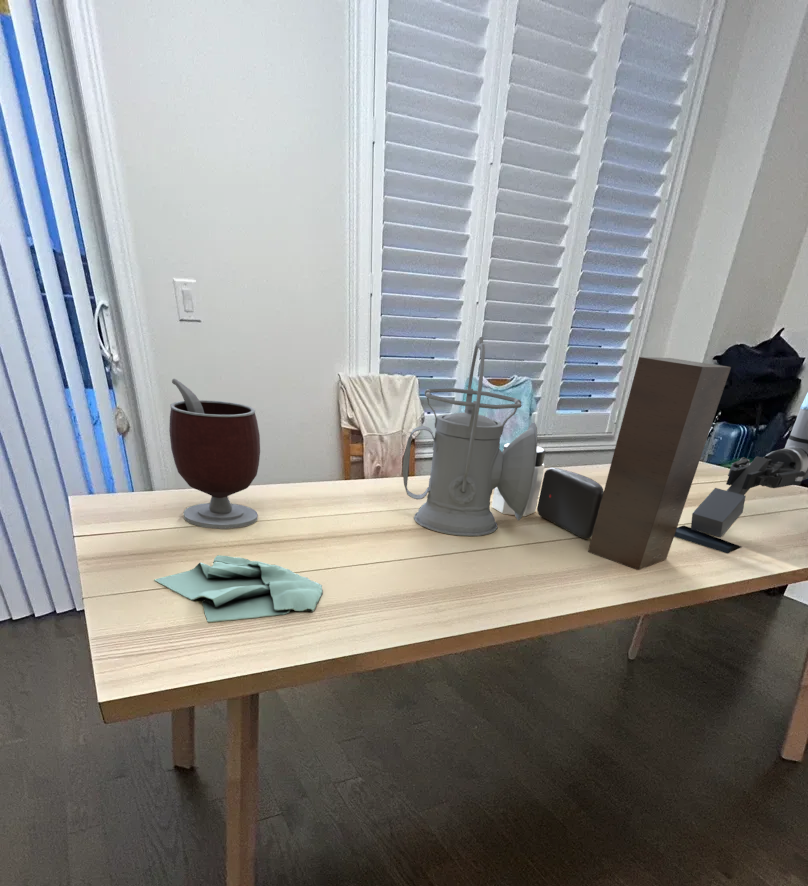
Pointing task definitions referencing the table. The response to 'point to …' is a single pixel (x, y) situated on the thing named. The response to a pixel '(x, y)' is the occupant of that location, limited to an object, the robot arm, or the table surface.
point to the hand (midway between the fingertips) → (738, 479)
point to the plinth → (656, 458)
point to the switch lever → (724, 504)
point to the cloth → (244, 589)
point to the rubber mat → (705, 540)
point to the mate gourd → (215, 456)
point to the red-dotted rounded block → (570, 501)
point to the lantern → (473, 464)
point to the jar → (503, 507)
